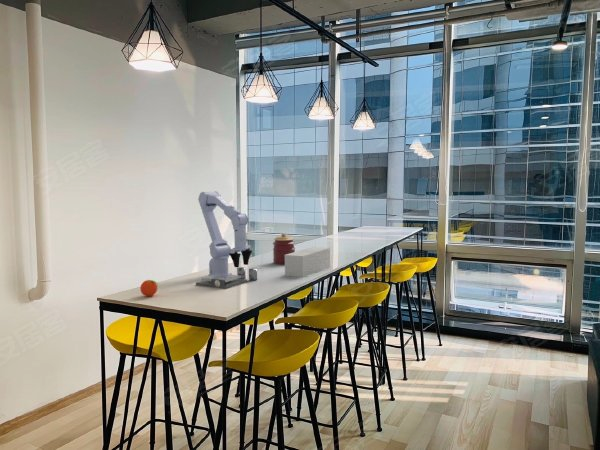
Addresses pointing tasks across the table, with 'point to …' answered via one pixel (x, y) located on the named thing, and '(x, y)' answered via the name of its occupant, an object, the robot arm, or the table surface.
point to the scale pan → (222, 277)
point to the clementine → (148, 287)
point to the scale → (221, 283)
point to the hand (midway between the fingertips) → (241, 265)
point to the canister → (282, 248)
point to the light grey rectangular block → (307, 261)
